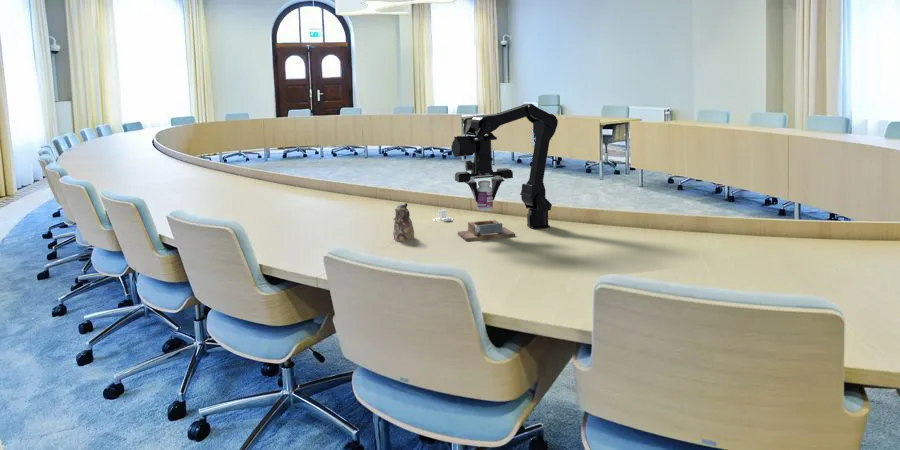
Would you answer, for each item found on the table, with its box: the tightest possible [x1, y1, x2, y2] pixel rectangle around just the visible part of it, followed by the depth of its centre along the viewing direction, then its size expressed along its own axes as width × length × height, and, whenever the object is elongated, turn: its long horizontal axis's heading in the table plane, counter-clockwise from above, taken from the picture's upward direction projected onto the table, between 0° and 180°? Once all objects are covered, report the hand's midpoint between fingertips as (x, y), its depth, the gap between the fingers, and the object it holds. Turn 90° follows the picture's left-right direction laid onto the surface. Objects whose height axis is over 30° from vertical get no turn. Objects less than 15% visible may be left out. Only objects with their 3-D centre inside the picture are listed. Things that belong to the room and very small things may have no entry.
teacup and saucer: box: [432, 209, 454, 223], centre depth 262 cm, size 9×8×4 cm
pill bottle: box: [476, 180, 494, 212], centre depth 231 cm, size 5×5×10 cm
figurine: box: [392, 202, 415, 242], centre depth 232 cm, size 7×7×12 cm
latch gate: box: [475, 222, 503, 235], centre depth 229 cm, size 9×2×3 cm, turn 105°
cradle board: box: [457, 219, 516, 242], centre depth 233 cm, size 17×11×4 cm, turn 104°
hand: (484, 200), depth 232 cm, fingers closed on pill bottle, 5 cm apart
